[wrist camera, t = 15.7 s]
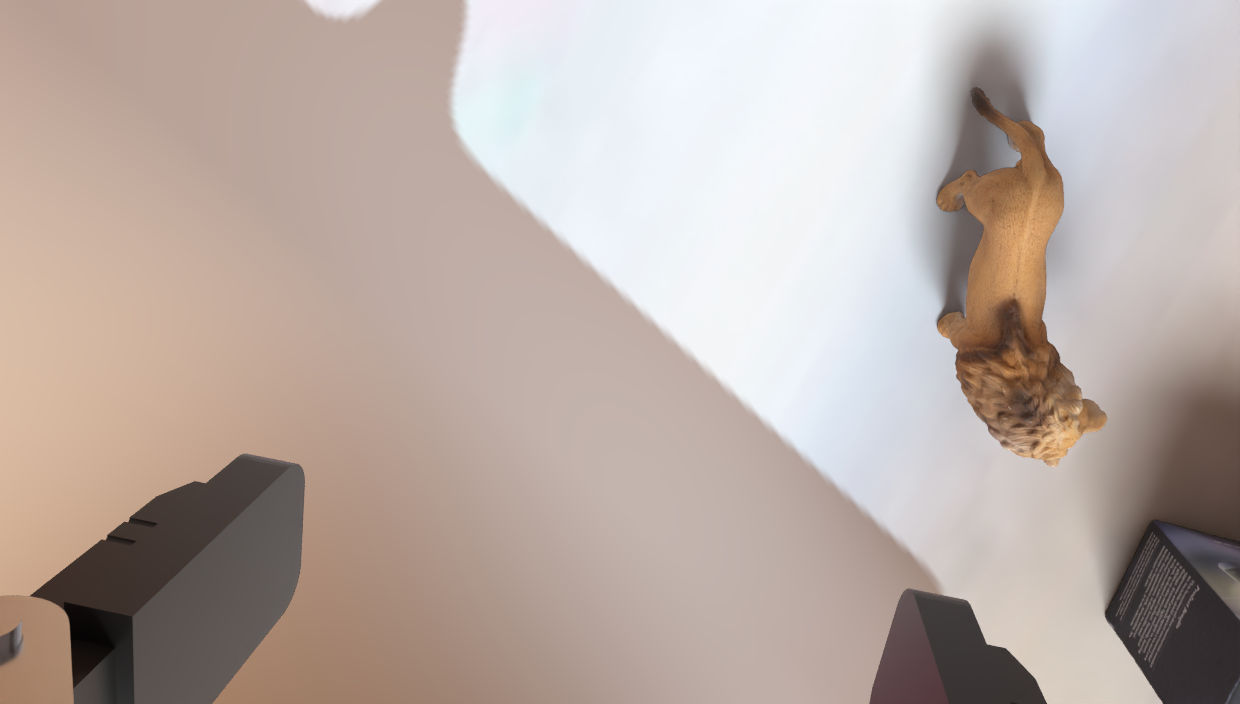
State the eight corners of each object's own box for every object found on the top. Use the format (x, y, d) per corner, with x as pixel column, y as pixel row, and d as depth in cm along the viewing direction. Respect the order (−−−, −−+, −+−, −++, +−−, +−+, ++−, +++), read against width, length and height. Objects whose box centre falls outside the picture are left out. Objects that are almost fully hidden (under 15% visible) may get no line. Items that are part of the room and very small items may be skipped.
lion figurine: (1056, 388, 44) (1132, 470, 36) (941, 405, 45) (988, 489, 37) (1031, 74, 40) (1109, 83, 32) (905, 100, 41) (948, 116, 33)
